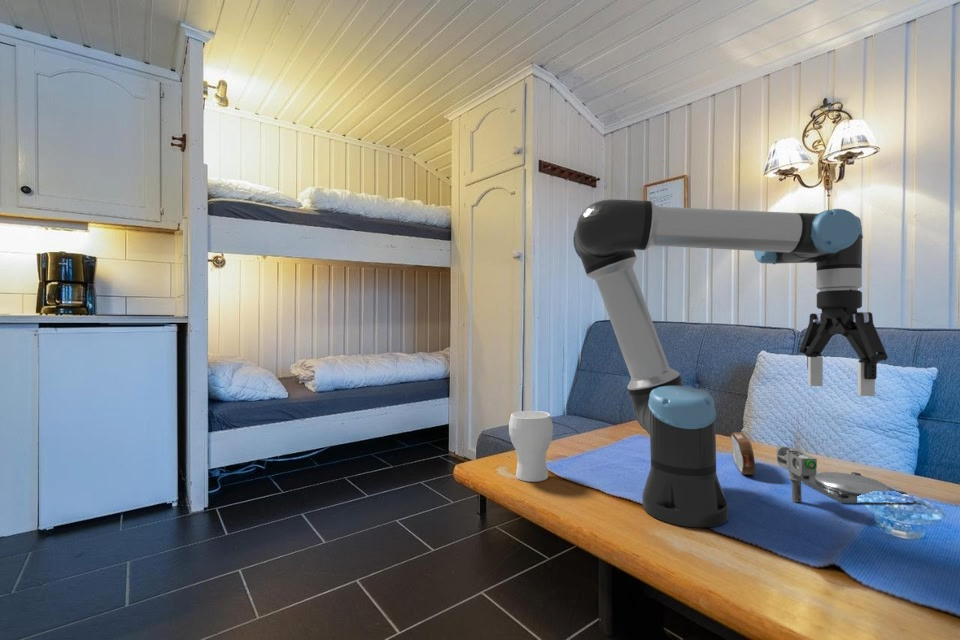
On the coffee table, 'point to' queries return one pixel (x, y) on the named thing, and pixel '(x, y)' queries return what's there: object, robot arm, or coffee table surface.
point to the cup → (531, 443)
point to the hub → (845, 485)
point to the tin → (743, 453)
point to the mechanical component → (796, 468)
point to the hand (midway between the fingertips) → (838, 390)
